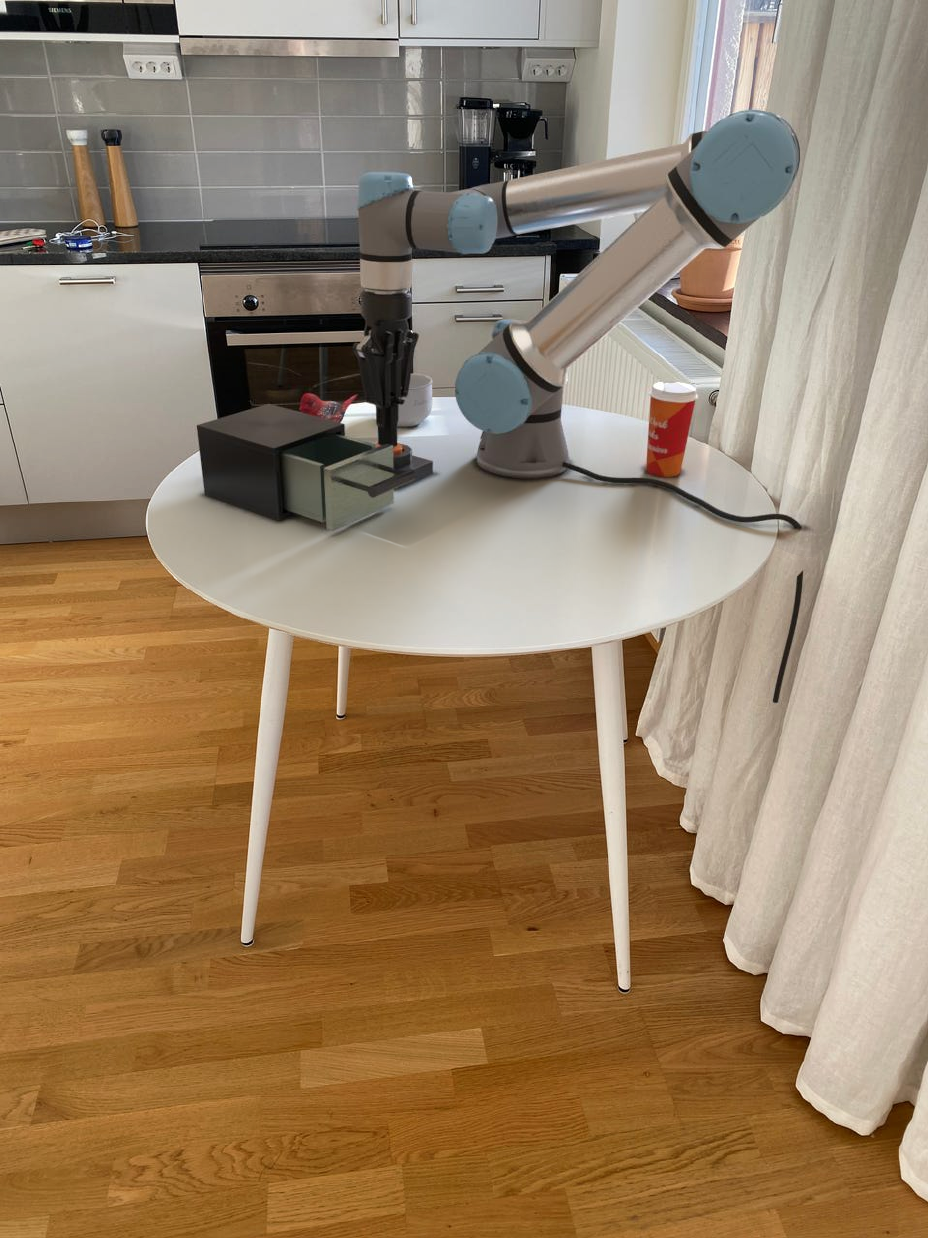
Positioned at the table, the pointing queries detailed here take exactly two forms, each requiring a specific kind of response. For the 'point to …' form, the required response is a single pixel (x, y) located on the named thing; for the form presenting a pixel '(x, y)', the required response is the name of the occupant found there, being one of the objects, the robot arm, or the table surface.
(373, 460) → the drawer
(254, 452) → the cabinet
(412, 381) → the teacup
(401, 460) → the block
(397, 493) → the table surface
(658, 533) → the table surface
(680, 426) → the paper cup
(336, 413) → the decorative bird figurine
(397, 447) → the button
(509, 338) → the robot arm
